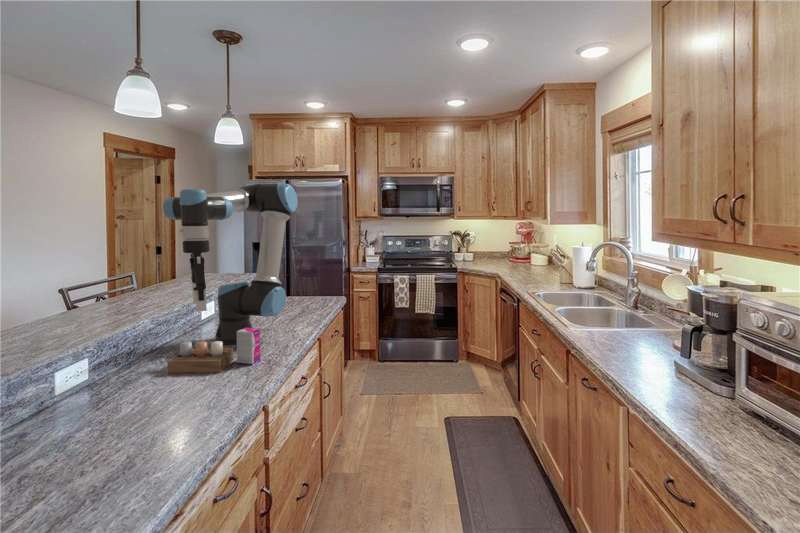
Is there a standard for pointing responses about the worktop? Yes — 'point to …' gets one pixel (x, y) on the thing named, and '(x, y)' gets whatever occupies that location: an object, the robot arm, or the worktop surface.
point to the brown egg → (201, 349)
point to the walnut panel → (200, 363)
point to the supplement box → (248, 346)
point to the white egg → (217, 348)
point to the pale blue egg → (186, 349)
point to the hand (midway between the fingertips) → (199, 306)
